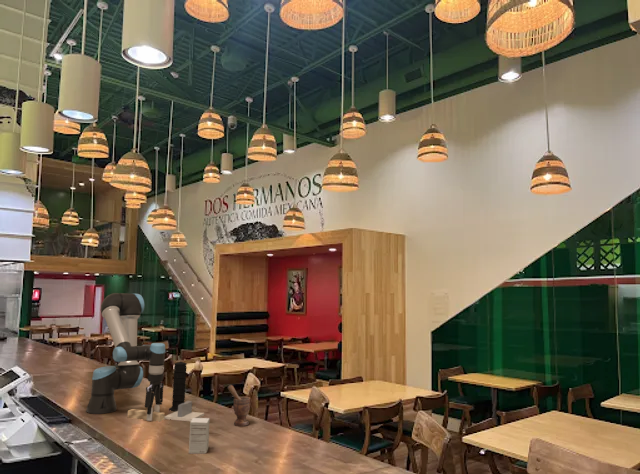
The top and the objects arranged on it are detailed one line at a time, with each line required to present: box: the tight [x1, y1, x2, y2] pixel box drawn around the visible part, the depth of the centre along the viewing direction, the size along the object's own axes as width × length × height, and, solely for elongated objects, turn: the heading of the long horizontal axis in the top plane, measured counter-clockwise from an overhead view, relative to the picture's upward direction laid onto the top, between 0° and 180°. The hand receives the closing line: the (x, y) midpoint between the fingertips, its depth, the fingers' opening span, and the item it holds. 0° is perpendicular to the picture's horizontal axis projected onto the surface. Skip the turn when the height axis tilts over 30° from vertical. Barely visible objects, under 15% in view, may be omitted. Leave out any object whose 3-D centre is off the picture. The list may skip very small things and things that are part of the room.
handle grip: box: [168, 361, 188, 412], centre depth 283 cm, size 10×26×10 cm
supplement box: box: [188, 417, 210, 455], centre depth 209 cm, size 7×7×13 cm
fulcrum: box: [164, 400, 205, 422], centre depth 264 cm, size 16×14×7 cm
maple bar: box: [127, 408, 166, 423], centre depth 258 cm, size 20×4×4 cm, turn 71°
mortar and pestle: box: [227, 384, 252, 427], centre depth 252 cm, size 12×9×20 cm
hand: (152, 419), depth 257 cm, fingers open, 6 cm apart
